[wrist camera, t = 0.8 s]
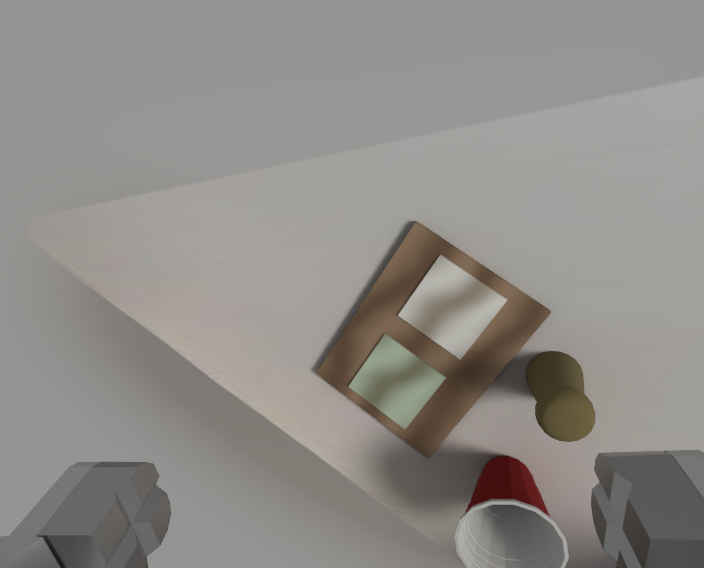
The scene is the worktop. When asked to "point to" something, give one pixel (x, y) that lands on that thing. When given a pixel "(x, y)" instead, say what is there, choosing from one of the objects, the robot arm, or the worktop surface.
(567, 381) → the cork
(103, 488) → the robot arm
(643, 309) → the worktop surface
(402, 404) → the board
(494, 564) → the plastic cup
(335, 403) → the worktop surface
